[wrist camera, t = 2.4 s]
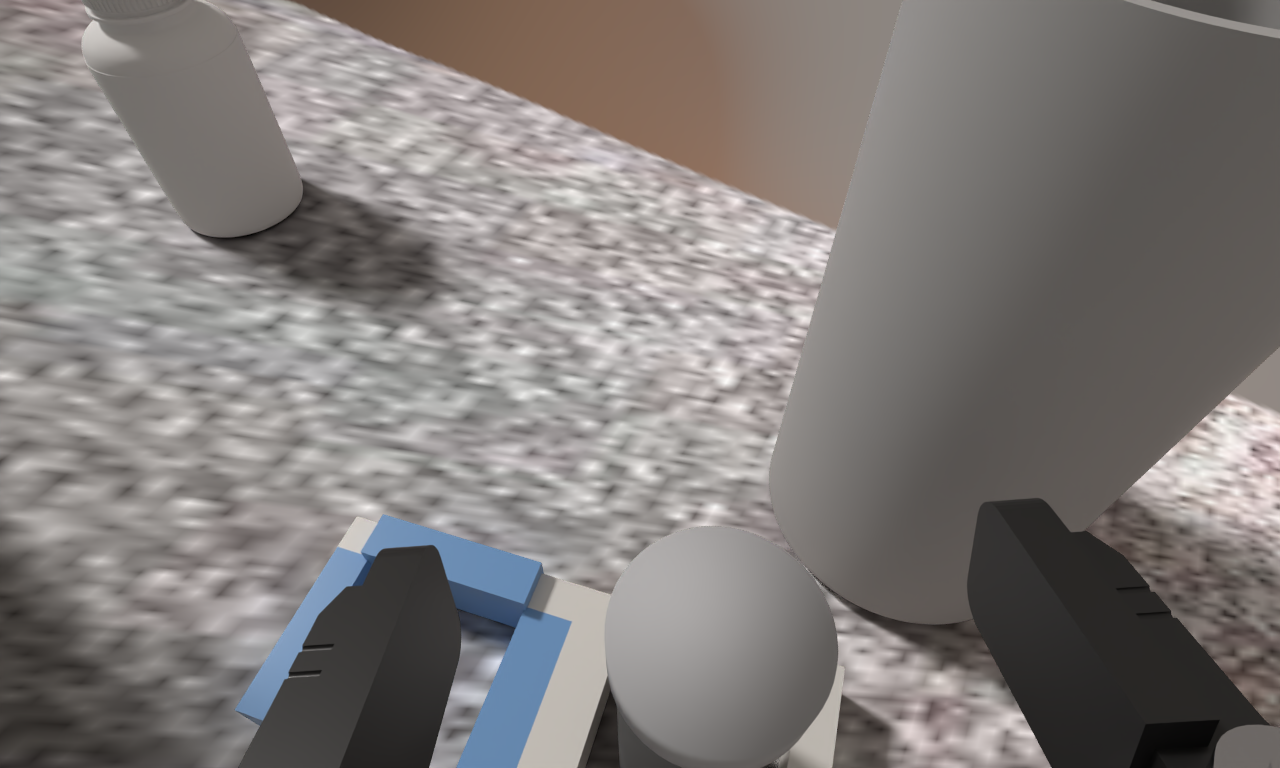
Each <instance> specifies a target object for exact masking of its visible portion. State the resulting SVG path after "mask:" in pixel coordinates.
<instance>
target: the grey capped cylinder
mask: <svg viewBox="0 0 1280 768" xmlns="http://www.w3.org/2000/svg"><path fill="white" fill-rule="evenodd" d="M604 641H605V654H606V666H607V674H608V680H609V684H610V688H611V692H612V695H613V697H614V700H615V702H616V705H617V720H618V743H619V765H620V768H767V767H768V765H769V764H770V763H771V762H773V761H775V760H777V759H778V758H779V757H781V756H782V755H784V754H785V753H786V752H788V751H789V750H790V749H791V748H792V747H793V746H794V745H795V744H796V743H797V742H798V741H799V739H800V738H801V737H802V735H803V734H804V733H805V732H806V730H807V729H808V728H809V726H810V725H811V724H812V723H813V721H814V720H815V719H816V717H817V716H818V715H819V713H820V712H821V710H822V709H823V707H824V705H825V703H826V701H827V699H828V697H829V695H830V692H831V689H832V686H833V684H834V680H835V675H836V670H837V661H838V642H837V633H836V628H835V623H834V619H833V616H832V613H831V610H830V607H829V605H828V603H827V601H826V599H825V597H824V594H823V592H822V591H821V589H820V588H819V586H818V584H817V583H816V581H815V580H814V579H813V577H812V576H811V575H810V574H809V572H808V571H807V570H806V569H805V568H804V567H803V566H802V565H801V564H800V563H799V562H798V561H797V560H796V559H795V558H794V557H793V556H792V555H790V554H789V553H788V552H787V551H785V550H784V549H783V548H781V547H779V546H778V545H776V544H775V543H773V542H771V541H769V540H767V539H765V538H763V537H761V536H759V535H756V534H753V533H750V532H748V531H744V530H740V529H735V528H730V527H721V526H703V527H696V528H689V529H685V530H682V531H678V532H675V533H673V534H670V535H668V536H665V537H663V538H661V539H660V540H658V541H656V542H654V543H652V544H651V545H650V546H648V547H647V548H646V549H644V550H643V551H642V552H641V553H640V554H639V555H638V556H637V557H635V558H634V559H633V560H632V561H631V563H630V564H629V565H628V567H627V568H626V569H625V570H624V572H623V573H622V575H621V577H620V578H619V580H618V582H617V583H616V585H615V588H614V590H613V592H612V595H611V597H610V601H609V604H608V608H607V612H606V619H605V640H604Z"/></svg>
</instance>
